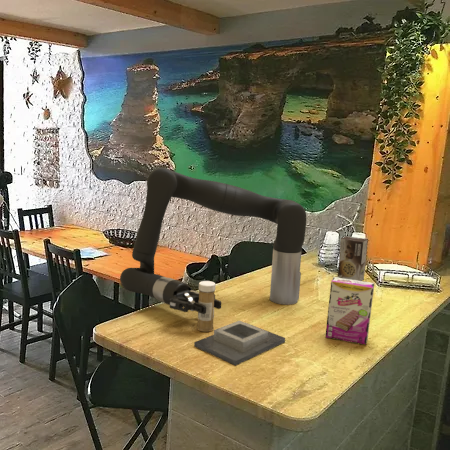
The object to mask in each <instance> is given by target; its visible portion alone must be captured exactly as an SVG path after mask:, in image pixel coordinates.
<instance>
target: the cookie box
mask: <svg viewBox="0 0 450 450" xmlns="http://www.w3.org/2000/svg"><path fill="white" fill-rule="evenodd" d="M368 241H369V239H367V238H361V237H354V236H348V235H345V236H343V237H341V238H340V242H339V243H340V247H339V256H338V258H339V259H338V269H337V277H339V278H345V279H351V280H358V281H364V280H365V274H366V273H365V272H366V271H365V270H366V261H367V252H368V243H369V242H368Z"/></svg>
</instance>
